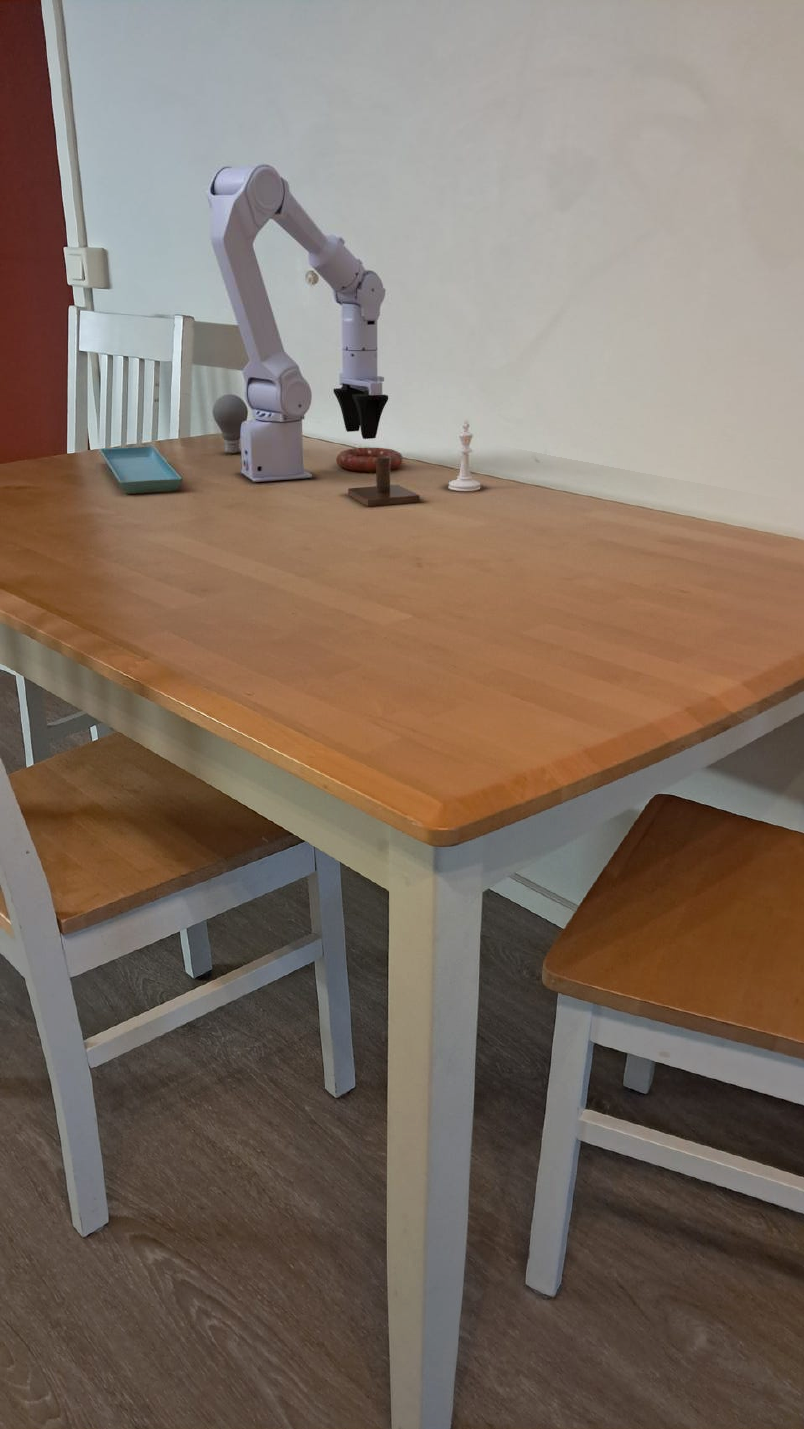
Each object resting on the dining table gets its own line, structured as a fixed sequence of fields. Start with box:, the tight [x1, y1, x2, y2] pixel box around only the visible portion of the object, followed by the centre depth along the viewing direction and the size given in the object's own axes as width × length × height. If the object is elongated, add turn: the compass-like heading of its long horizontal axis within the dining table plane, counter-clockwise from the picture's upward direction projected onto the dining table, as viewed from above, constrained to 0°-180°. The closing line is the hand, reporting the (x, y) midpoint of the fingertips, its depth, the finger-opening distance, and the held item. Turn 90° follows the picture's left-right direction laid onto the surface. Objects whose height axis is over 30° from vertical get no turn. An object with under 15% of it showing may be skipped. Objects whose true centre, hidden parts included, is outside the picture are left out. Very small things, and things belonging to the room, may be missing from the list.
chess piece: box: [447, 419, 482, 492], centre depth 160 cm, size 5×5×10 cm
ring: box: [335, 446, 404, 473], centre depth 177 cm, size 11×11×2 cm
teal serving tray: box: [99, 445, 183, 495], centre depth 167 cm, size 26×9×2 cm, turn 21°
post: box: [347, 456, 420, 507], centre depth 154 cm, size 8×8×6 cm
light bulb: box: [212, 393, 249, 455], centre depth 185 cm, size 6×6×10 cm
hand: (360, 434), depth 179 cm, fingers open, 7 cm apart
